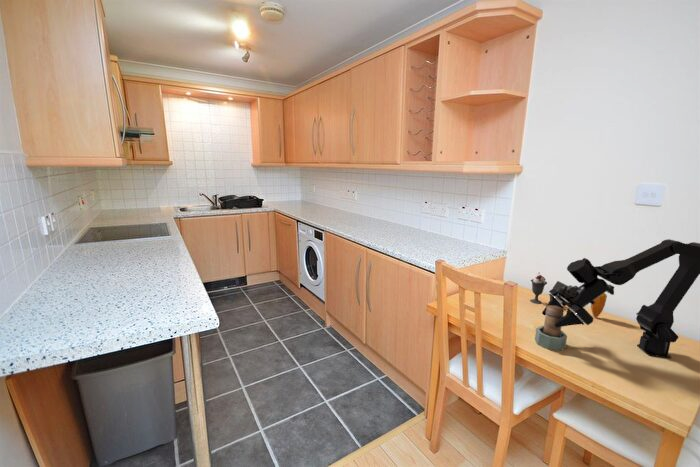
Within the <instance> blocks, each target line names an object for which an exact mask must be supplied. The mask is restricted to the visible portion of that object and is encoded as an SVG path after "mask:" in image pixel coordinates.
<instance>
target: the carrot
mask: <svg viewBox="0 0 700 467" xmlns="http://www.w3.org/2000/svg"><path fill="white" fill-rule="evenodd" d="M607 297H608V295H607V294H606V292H605V293H603V294H602V295H601V296H599V297H598V298H596V299H595V300H593V301H594V302H595V303H594V304H593V305H592V304H591V303H590V309H591V313H592V317H593V318H595V319H596V318H598V317H599V316H600V315H601V313H602V312H603V311H604V308H605V306H606V303H607Z"/></svg>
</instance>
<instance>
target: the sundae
mask: <svg viewBox="0 0 700 467" xmlns="http://www.w3.org/2000/svg"><path fill="white" fill-rule="evenodd" d="M530 282H531V288H532V289H531V290H532V293H533V294H534V295H535V297H534V298H533V299H532V298H531V299H530V300H529V301H530V302H531V303H533V304H536V305H537V304H538V305H542V304H543V302H542V301H541V300H539V295H542V294H543V292H544V288H545V286H546V285H547V284H548V282H547V281H546V278H545V277H544V276H543V275H541V274H540V273H538V275H537V276H535V278H532V279H531V280H530Z"/></svg>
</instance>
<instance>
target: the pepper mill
mask: <svg viewBox="0 0 700 467" xmlns="http://www.w3.org/2000/svg"><path fill="white" fill-rule="evenodd" d="M546 306H547V305H546ZM564 311H565V309H564V308H561V307H558V306H554V305H548V306H547V309H546V315H544V317H545V318H544V324H543V326H544V330H543V334H545V335H548V336H550V337H558V338H560V332H561V331H562V327H556V326H555V325H554V324H555V323H556V322H557V321H559V320H560V319H561V318H562V317H563V316H564Z"/></svg>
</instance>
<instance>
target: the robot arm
mask: <svg viewBox="0 0 700 467" xmlns="http://www.w3.org/2000/svg"><path fill="white" fill-rule="evenodd" d="M675 255H679V256H678V265H679V266H678V268H677V269H676V270H675V272H674V273H673V275H672V276H671V278H670V279H669V281H668V282H667V283H666V285H665V287H664V288H663V289H662V291H661V292H660V293H659V296H658V297H657V299H656V300H655V301H654V303H651V304H650V305H646V304H643V305H642V306H640V310H639V311H638V312H637V313H635V314H636V315H637V316H636V318H635V319H636V320H635V321H636V322H637V324H638V325H639V329H640V330H642V331H643V332H642V335H641V336H640V337H639V338H640V339H639V343H637V345H636V347H637V348H639V349H640V350H641V351H642V352H644V353H645V354H647V355H648V356H652V357H661V358H669V359H672V355H670V354H669V350H670V345H671V343H676V342H677V340H678V339H679V336H678V334H676V332H675V331H674V330H673V329H672V326H673V325H674V323H675V320H674V311H675V310H676V309H677V307H678V306H679V304H680V303H681V301H682V300H683V298H684V297H685V296H686V294H687V293H688V291H689V290H690V289H691V287H692V286H693V284H694V283H695V281H696V280H697V278H698V277H699V275H700V242H695V241H694V242H689V243H684V242H682V241H679V240H674V239H671V238H669V239H664V240H662V241H661V242H660V243H658V244H656V245H654V246H651V247H650V248H648V249H645V250H643V251H641V252H639V253H637V254H635V255H633V256H631V257H628V258H625V259H621V260H614V261H610V262H608V263H604V264H603V265H599V266H594V265H593V263H591V261H590V260H589V259H587V258H586V257H583V258H582V259H577V260H575V261H572V262H570V263H569V264H568V266H566V270H567V271H568V272H569V274H570V275H571V276H572V277H573V278H574V279H575V281H577V282H578V283H580V284H581V285H580V286H577V285H570V284H569V285H567V284H565V283H563V282H561V281H560V280H557V281H556V283H555V284H554V286H553V287H552V288H551V289H550V290H549V292H548V293H549V295H548V296H549V301H548V303H547V304H546V306H545V308H544V309H543V311H542V312H541V314H542V316H546V309H547V306H548V305H554V306H558V307H561V308H563V309H564V307H565V306H567V307H568V308H567V310H566V313H565V315H563V317H562V318H561V319H560V320H559V321H557V322H556V323H555V324H554V325H555V326H556V327H561V328H563V327H568V326H576V325H583V326H584V325H587V326H589V325H591V324H592V323H593V322H594V320H595V319H594V318H595V317H594V316H593V315H591V314H590V312H588V311H587V310H586V309H585V307H587V306H588V305H589V304H590V305H591V304H592V305H593V304H594V303H595V302H594V301H593V300H595V299H596V298H598V297H599V296H601V295H602V294H603V293H605V294H606V293H607V294H610V295H611V296H613V295H615V286H613V285H616V286H622V285H625V284H626V283H629V281H631V280H632V279H634V278H635V277H636V275H637V273H639V272H640V271H642V270H644V269H647V268H649V267H651V266H654V265H655V264H658V263H661V262H662V261H664V260H666V259H669V258H670V257H673V256H675ZM599 277H600V278H599ZM606 281H608V282H609V283H610V284H608V283H607V282H606ZM611 284H613V285H611Z"/></svg>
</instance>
